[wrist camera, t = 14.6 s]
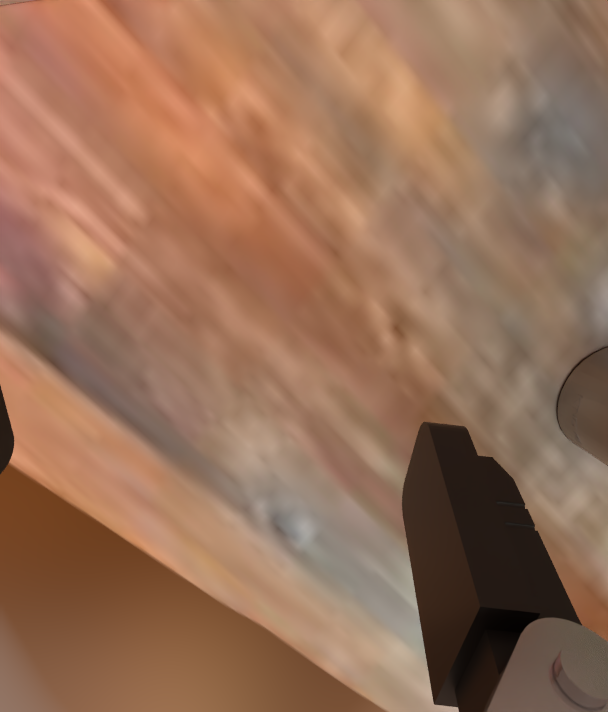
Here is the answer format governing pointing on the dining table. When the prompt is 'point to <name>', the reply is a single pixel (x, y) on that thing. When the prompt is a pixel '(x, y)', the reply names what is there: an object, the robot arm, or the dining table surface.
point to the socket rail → (12, 1)
